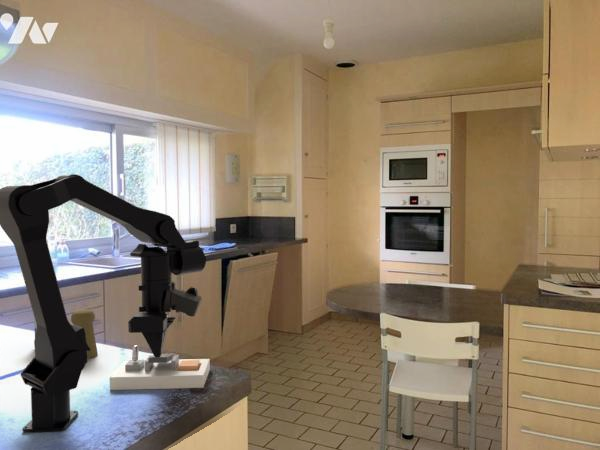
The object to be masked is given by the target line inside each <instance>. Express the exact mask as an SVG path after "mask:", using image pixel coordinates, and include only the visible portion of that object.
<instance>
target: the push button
mask: <svg viewBox="0 0 600 450" xmlns="http://www.w3.org/2000/svg"><path fill="white" fill-rule="evenodd" d="M199 368H200V365H199V360H182V361H181V363H180V365H179V371H196V370H199Z"/></svg>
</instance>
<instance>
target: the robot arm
mask: <svg viewBox="0 0 600 450" xmlns="http://www.w3.org/2000/svg"><path fill="white" fill-rule="evenodd" d="M68 202H72V203H75V204H77V205H79V206H80V207H83V208H85V209H87V210H90V211H92V212H94V213H96V214H98V215H100V216H102V217H103V218H106V219H109V220H111V221H112V222H115V223H117V224H119V225H121V226H122V227H123V228H125V230H126V231H127V232H128V233H129V234H130V235H131V236H133V237H134V238H135V239H137V240H138V241H140V242H142V243H138V244H137V246H136V247H135V248H134V249H133V250H132V251H131V252H130V254H129V255H130V256H131V257H136V258H140V273H141V274H140V279H141V280H140V281H141V283H140V284H138V292H140V291H141V304H140V305H139V306H138V312H137V313H136V314H135V315H134V316H133V317H131V319H130V320H129V321H128V324H127V325H128V326H127V327H128V333H130V334H132V333H141V334H142V336H143V338H144V339H145V340H146V342H147V346H148V347H149V349H150V351H151V352H152V355H154V357H160V356H161V354H163V349H164V344H165V339H166V335H167V332H168V331H167V330H168V328H170V326H171V325H172V324H173V323H174V322H175V320H176V317H174V316H171V317H170V316H169V313H171V312H172V311H175V312H176V313H183V314H185V315H186V316H188V317H195V316H196V314H197V313H198V310H199V307H200V305H201V302H202V296H201V295H199V292H198V288H196V287H193V286H190V287H188V289H187V290H186V291H185V290H184V289H182V290H180V289H178V288H177V289H176V282H175V281H174V280H172V274H173V275H175V276H182V275H188V274H194V273H201V272H202V271H203V270H204V269H205V267H206V262H207V256H206V254H205V253H204V250H203V248H202V247H200V241H199V240H194V239H193V240H192V239H191V240H186V241H185V239H184V238H183V236H182V234H181V232H179V230H178V229H177V227H176V221H175V218H173V217H172V216H170V215H168V214H165V213H162V212H159V211H155V210H150V209H147V208H142V207H139V206H136V205H135V204H133V203H131V202H128V201H126V200H125V199H123V198H121V197H119V196H117V195H115V194H114V193H111V192H109V191H107V190H105V189H104V188H101V187H99V186H97V185H96V184H94V183H92V182H90V181H88V180H86V179H85V178H84V177H83V176H81V175H79V174H76V173H75V174H73V173H72V174H61V175H59V176H57V177H55V178H52V179H49V180H46V181H41V182H37V183H34V184H30V185H29V184H26V185H25V184H24V185H23V184H21V185H7V186H4V187H1V188H0V227H1V229H2V230H3V232H4V233H5V234H6V236H7V237H8V238H9V240H10V241H11V242H12V244H13V246H14V249H15V253H16V256H17V260H18V262H19V263H18V264H19V266H20V267H19V268H20V270H21V274H22V277H23V280H24V284H25V285H24V286H25V288H26V291H27V295H28V300H29V302H30V306H31V309H32V312H33V313H32V314H33V318H34V317H35V320H36V324H37V330H36V335H35V334H34V341H33V343H34V355H35V356H34V357H33V358H32V359H31V360H30V362H29V363H28V364H27V365H26V366H25V368H24V369H23V371H21V372H20V377H21V378H22V381H23V383H24V384H25V385H26V386H29V387H31V388H30V404H31V406H30V407H31V408H30V409H31V410H30V411H31V420H29V422H27V423H26V424H25V425H24V426H23V427H22V432H24V433H25V432H26V433H27V432H55V431H56V432H58V431H64V430H65V429H66V428H67V427H68V426H69V425H70V424H71V423H72V421H74V419H76V418H77V416H78V415H79V411H78V410H71V396H70V395H71V391H72V390H74V389H76V388H77V387H78V383H79V381H80V377H81V373H82V371H83V370H84V368H85V366H86V364H88V361H89V359H88V353H87V351H90V350H91V349H90V348H89V346H88V345H87V342H86V334H85V330H84V328H82V327H79V326H75V325H73V323H70V321H69V319H68V316H67V313H66V308H65V305H64V302H63V301H64V300H63V297H62V295H61V290H60V287H59V282H58V279H57V274H56V272H55V267H54V264H53V260H52V256H51V252H50V248H49V246H48V240H47V235H48V230H49V225H50V212H49V211H50V210H52V209H55V208H57V207H60V206H63V205H64V204H66V203H68ZM147 244H151V245H153V246H148V245H147ZM164 248H166V250H165V249H164Z"/></svg>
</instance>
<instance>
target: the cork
mask: <svg viewBox="0 0 600 450" xmlns="http://www.w3.org/2000/svg"><path fill="white" fill-rule="evenodd" d="M95 314H96V313H95V312H94V310H92V309H87V308H83V309H78V310H74V311H73V312H72V313H71V315H70V316H71V317H70V321H71V324H72V325H75V326H79V327H82V328H84V330H85V334H86V342H87V345H88V346H89V348H90V349H91V350H90V351H87V353H88V360H90V359H94V358H96V357H98V355H99V354H98V348H97V342H96V336H95V330H94V329H95V328H94V324H93V323H94V322H95V318H96V315H95Z"/></svg>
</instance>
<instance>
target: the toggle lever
mask: <svg viewBox="0 0 600 450" xmlns="http://www.w3.org/2000/svg"><path fill="white" fill-rule="evenodd" d="M139 351H140V347H139V345H137V344H136V345H134V346H133V347H132V351H131V360H133V361H137V360H139Z"/></svg>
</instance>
